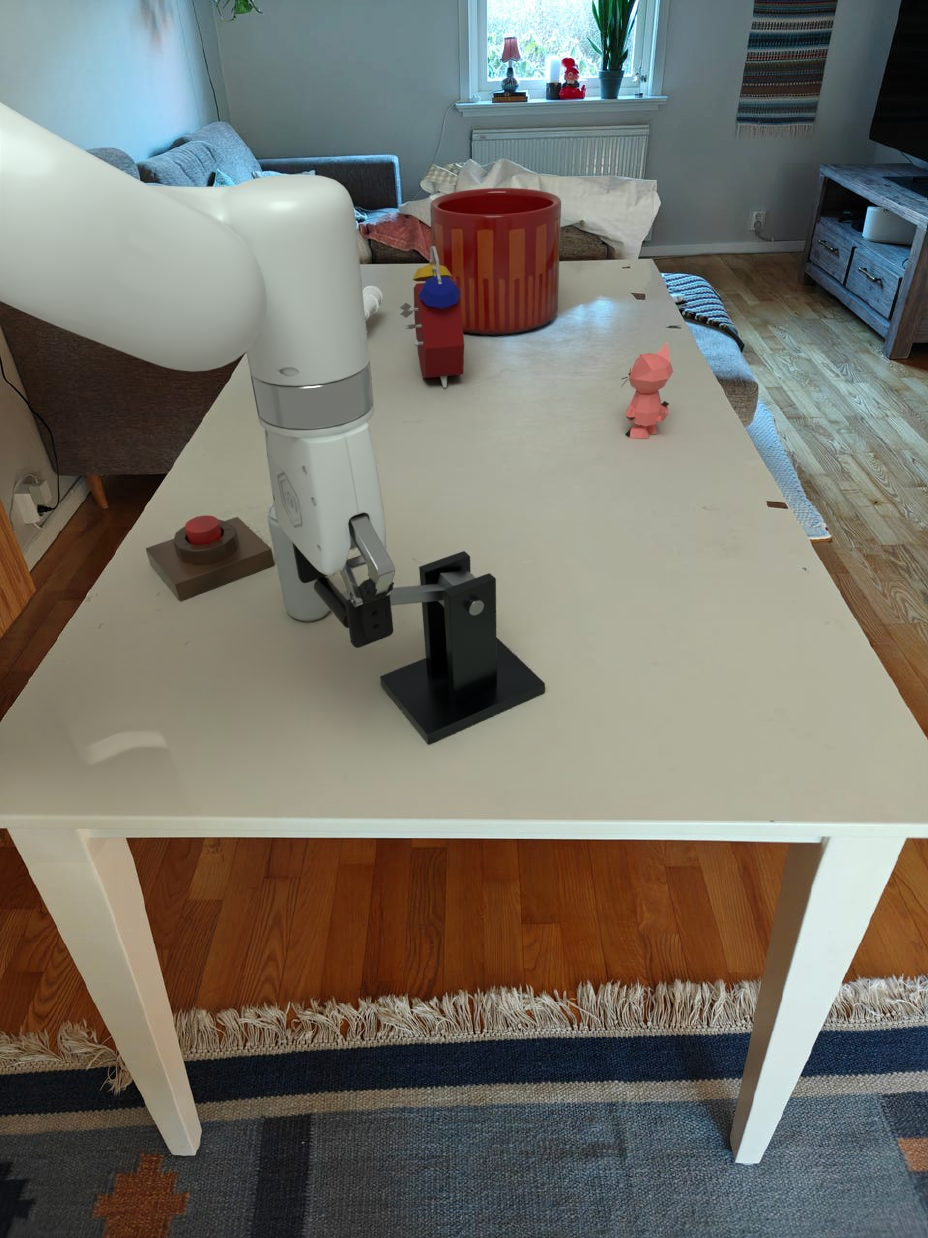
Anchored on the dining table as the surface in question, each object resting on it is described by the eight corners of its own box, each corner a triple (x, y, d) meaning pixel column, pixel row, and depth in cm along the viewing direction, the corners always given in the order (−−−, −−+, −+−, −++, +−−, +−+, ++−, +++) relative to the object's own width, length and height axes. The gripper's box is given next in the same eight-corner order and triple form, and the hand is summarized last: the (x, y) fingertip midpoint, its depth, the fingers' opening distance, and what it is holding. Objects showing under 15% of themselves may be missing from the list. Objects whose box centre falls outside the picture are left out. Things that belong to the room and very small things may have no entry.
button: (195, 549, 91) (192, 535, 90) (183, 536, 93) (179, 522, 92) (227, 538, 92) (224, 524, 91) (214, 525, 95) (211, 511, 94)
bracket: (428, 745, 72) (418, 624, 64) (380, 685, 78) (366, 569, 70) (545, 693, 76) (549, 575, 69) (491, 640, 83) (489, 527, 75)
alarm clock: (467, 392, 132) (462, 256, 120) (411, 397, 131) (402, 261, 119) (453, 358, 144) (448, 232, 132) (402, 363, 143) (392, 236, 131)
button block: (179, 601, 90) (170, 569, 87) (150, 564, 95) (141, 534, 93) (274, 565, 95) (268, 534, 92) (241, 532, 100) (234, 502, 98)
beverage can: (329, 623, 86) (313, 520, 78) (282, 624, 86) (261, 521, 79) (336, 595, 89) (321, 495, 82) (291, 596, 90) (271, 495, 82)
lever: (340, 635, 63) (345, 607, 62) (311, 598, 67) (315, 571, 65) (486, 617, 70) (492, 592, 69) (452, 585, 74) (457, 561, 73)
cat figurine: (640, 418, 123) (648, 335, 115) (680, 431, 118) (691, 346, 111) (609, 433, 119) (615, 348, 111) (650, 448, 115) (659, 361, 107)
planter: (421, 335, 154) (414, 214, 142) (451, 297, 172) (446, 186, 159) (547, 341, 149) (551, 216, 137) (564, 301, 167) (569, 187, 155)
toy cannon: (351, 355, 151) (327, 334, 150) (364, 329, 163) (342, 310, 161) (379, 323, 148) (355, 301, 146) (390, 299, 159) (368, 278, 157)
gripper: (215, 365, 59) (258, 569, 70) (312, 457, 47) (347, 687, 58) (315, 343, 62) (342, 542, 73) (430, 424, 50) (443, 649, 61)
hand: (344, 606), depth 65 cm, fingers open, 9 cm apart
